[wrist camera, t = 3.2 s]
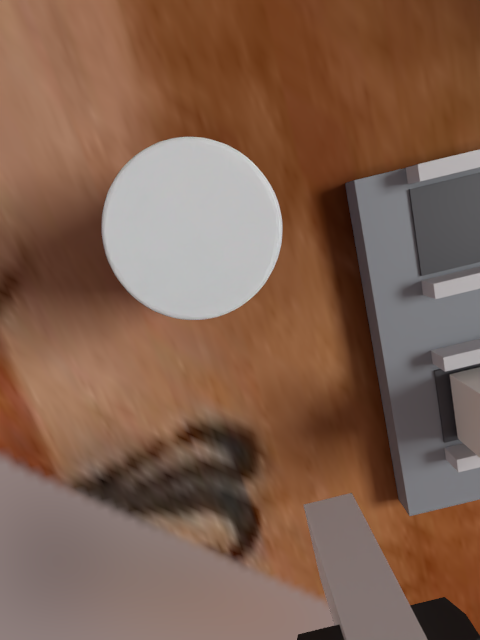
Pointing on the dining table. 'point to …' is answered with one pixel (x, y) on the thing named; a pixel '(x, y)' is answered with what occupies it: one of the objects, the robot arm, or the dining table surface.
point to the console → (423, 316)
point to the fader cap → (467, 407)
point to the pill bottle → (191, 228)
